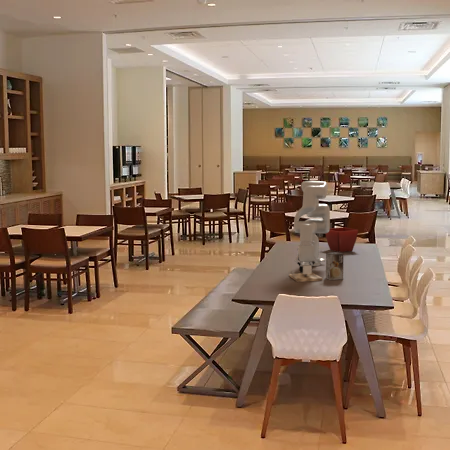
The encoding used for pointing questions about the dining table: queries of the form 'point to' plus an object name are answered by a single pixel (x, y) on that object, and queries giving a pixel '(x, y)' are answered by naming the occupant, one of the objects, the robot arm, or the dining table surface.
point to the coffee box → (334, 266)
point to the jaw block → (307, 269)
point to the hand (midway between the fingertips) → (305, 271)
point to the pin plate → (305, 277)
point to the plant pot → (341, 239)
